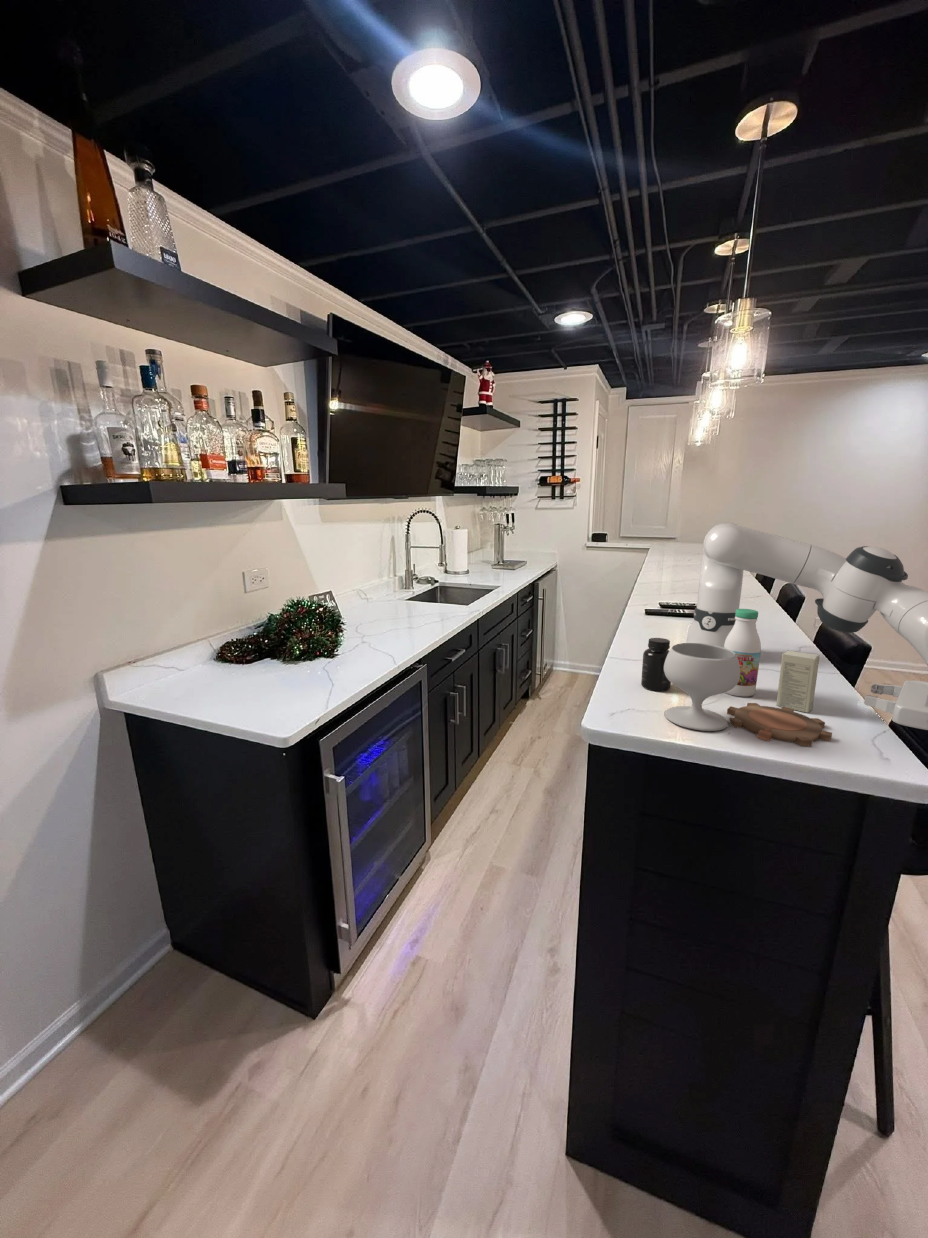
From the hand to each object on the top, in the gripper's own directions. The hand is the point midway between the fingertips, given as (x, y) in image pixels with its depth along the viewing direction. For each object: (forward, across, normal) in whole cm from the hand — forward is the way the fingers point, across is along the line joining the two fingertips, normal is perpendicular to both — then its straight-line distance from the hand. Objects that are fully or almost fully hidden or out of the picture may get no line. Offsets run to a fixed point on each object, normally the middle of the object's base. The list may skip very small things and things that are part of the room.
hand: (868, 693), depth 100 cm
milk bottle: (+24, +1, -7) cm, 25 cm away
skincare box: (+12, 0, -7) cm, 14 cm away
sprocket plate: (+12, -14, -7) cm, 20 cm away
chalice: (+25, -23, -7) cm, 34 cm away
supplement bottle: (+39, -10, -7) cm, 41 cm away
